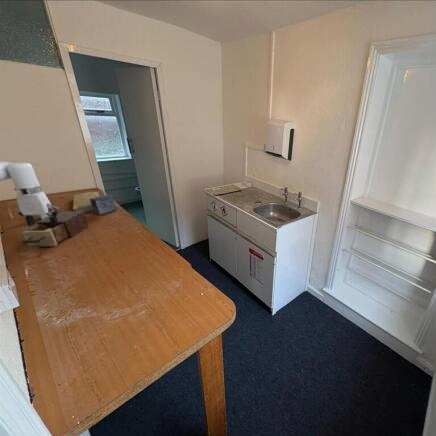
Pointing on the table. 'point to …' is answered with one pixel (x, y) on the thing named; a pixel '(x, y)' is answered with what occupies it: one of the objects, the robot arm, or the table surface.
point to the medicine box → (43, 216)
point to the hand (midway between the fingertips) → (43, 224)
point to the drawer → (45, 234)
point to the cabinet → (70, 221)
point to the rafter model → (84, 201)
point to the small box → (103, 204)
